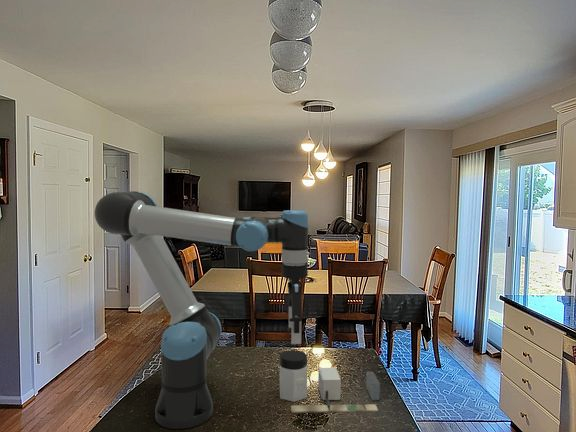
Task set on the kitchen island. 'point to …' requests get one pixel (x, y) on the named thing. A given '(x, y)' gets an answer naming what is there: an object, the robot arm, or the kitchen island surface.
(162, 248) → the robot arm
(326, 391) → the carriage
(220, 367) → the kitchen island surface
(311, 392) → the kitchen island surface
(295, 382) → the jar
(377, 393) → the two-tone gray brick
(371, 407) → the strip
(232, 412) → the kitchen island surface
